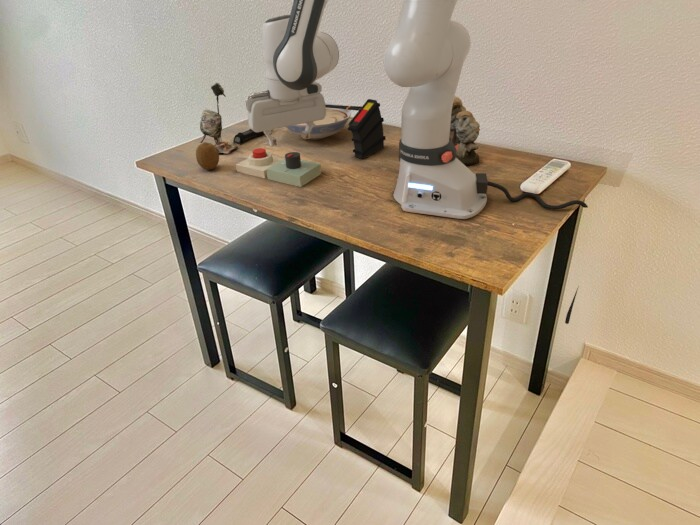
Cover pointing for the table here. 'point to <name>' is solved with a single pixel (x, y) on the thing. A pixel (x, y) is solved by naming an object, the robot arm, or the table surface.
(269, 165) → the switch box
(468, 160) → the owl figurine
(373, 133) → the magazine
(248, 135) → the electric trimmer
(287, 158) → the dial
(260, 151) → the power button
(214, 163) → the fruit
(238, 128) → the table surface
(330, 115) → the ramen bowl
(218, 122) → the grey mottled tall figure
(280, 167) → the dial panel
